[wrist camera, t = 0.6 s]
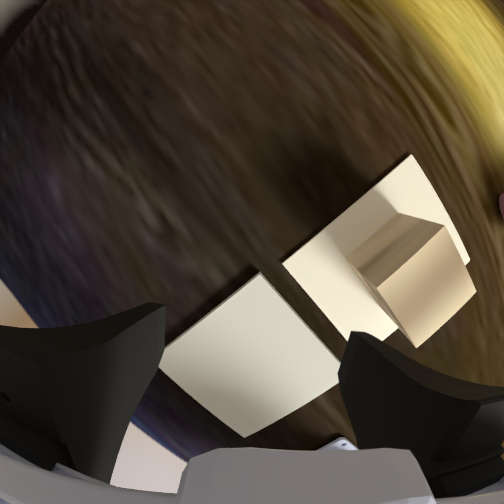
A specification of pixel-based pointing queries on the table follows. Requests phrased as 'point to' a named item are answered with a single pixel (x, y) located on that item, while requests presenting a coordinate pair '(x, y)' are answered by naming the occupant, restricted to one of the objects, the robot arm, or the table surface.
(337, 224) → the cream card
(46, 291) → the table surface
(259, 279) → the grey mat
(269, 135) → the table surface
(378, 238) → the maple block
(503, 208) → the video game controller
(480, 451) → the robot arm
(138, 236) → the table surface
